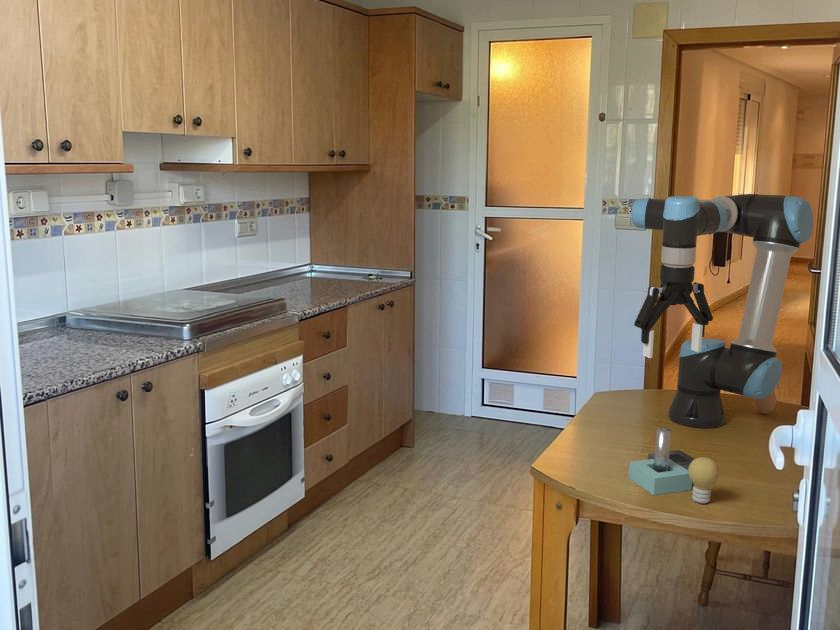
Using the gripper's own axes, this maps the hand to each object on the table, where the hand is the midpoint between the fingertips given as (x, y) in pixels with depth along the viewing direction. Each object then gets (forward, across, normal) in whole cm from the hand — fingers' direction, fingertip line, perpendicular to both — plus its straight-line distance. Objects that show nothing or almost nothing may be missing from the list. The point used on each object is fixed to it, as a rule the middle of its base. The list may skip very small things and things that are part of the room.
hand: (671, 353), depth 197 cm
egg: (+30, -53, -25) cm, 66 cm away
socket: (+28, +8, +9) cm, 30 cm away
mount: (+28, -1, +2) cm, 28 cm away
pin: (+28, +8, +9) cm, 30 cm away
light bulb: (+28, +5, +20) cm, 35 cm away
